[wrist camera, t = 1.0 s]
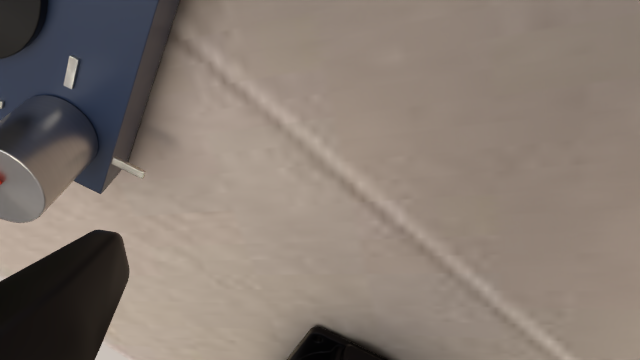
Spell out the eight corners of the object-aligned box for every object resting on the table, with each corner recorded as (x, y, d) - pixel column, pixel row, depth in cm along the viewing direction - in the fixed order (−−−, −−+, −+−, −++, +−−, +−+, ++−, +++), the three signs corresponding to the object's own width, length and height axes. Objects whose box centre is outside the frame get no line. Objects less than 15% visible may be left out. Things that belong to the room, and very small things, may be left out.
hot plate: (148, 198, 28) (123, 234, 26) (-97, 77, 27) (-145, 104, 25) (234, -32, 21) (208, -9, 19) (-99, -215, 19) (-168, -213, 17)
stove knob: (114, 147, 23) (58, 209, 20) (64, 178, 25) (4, 240, 22) (53, 80, 22) (-18, 134, 19) (4, 117, 24) (-70, 173, 20)
